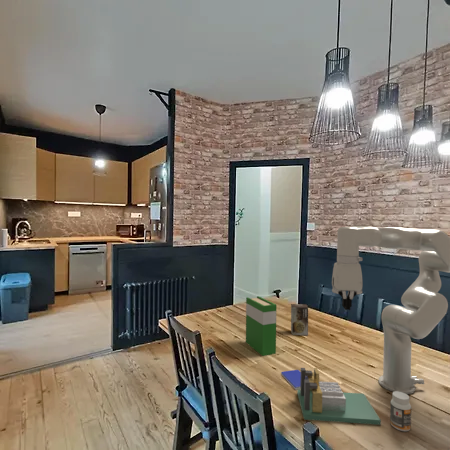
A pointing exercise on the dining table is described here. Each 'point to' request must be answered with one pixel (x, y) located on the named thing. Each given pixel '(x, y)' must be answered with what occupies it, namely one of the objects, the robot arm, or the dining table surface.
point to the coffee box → (299, 319)
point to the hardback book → (261, 325)
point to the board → (355, 411)
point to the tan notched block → (316, 392)
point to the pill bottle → (400, 411)
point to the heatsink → (332, 397)
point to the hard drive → (292, 378)
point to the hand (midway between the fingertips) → (346, 308)
